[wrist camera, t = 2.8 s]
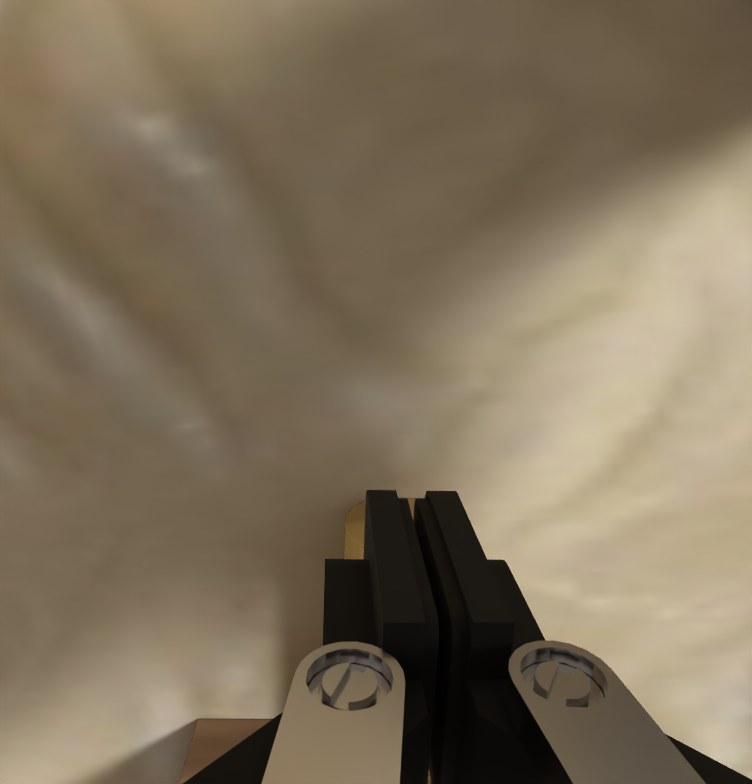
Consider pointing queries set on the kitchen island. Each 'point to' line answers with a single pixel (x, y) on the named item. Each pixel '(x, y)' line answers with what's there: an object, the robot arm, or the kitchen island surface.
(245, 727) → the beam
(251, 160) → the kitchen island surface
